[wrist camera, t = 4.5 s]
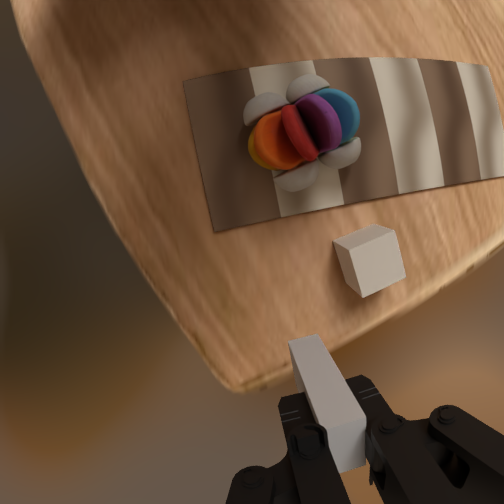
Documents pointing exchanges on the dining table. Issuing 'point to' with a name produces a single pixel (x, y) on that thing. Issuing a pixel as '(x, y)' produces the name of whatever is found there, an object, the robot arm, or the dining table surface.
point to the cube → (370, 259)
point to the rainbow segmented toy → (303, 131)
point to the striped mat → (369, 131)
